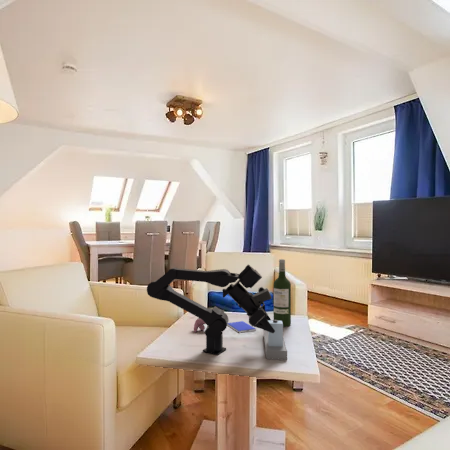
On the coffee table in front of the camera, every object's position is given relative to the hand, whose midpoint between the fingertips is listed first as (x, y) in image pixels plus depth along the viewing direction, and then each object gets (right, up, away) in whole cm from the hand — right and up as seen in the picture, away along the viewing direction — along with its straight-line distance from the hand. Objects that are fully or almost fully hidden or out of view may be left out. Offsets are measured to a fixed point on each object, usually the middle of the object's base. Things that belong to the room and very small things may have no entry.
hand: (273, 328), depth 120 cm
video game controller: (-26, -9, +25) cm, 37 cm away
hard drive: (-10, -10, +30) cm, 33 cm away
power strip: (+1, -9, +9) cm, 13 cm away
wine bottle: (+9, -9, +35) cm, 38 cm away
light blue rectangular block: (+1, -8, 0) cm, 8 cm away
